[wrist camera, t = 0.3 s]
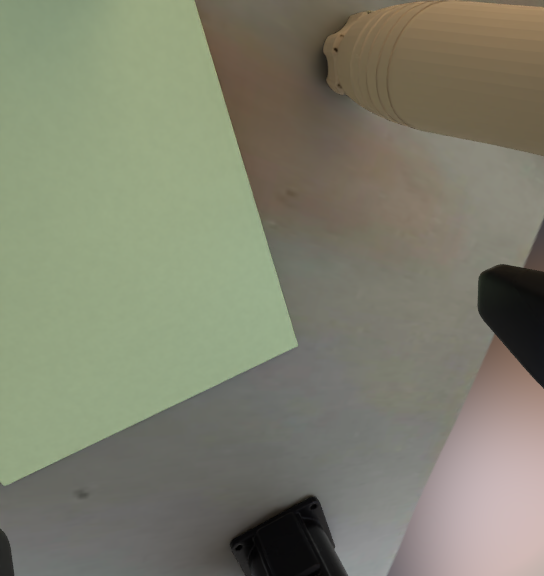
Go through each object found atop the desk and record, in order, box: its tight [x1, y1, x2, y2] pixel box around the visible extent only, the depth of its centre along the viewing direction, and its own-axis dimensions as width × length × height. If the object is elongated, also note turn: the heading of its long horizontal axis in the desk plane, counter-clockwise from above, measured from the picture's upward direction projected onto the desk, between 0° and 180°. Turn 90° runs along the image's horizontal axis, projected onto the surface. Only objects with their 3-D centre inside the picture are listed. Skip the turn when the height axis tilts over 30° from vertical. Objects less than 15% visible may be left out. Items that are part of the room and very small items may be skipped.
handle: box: [323, 0, 544, 156], centre depth 15 cm, size 5×6×15 cm
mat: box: [0, 0, 298, 486], centre depth 20 cm, size 20×16×1 cm
